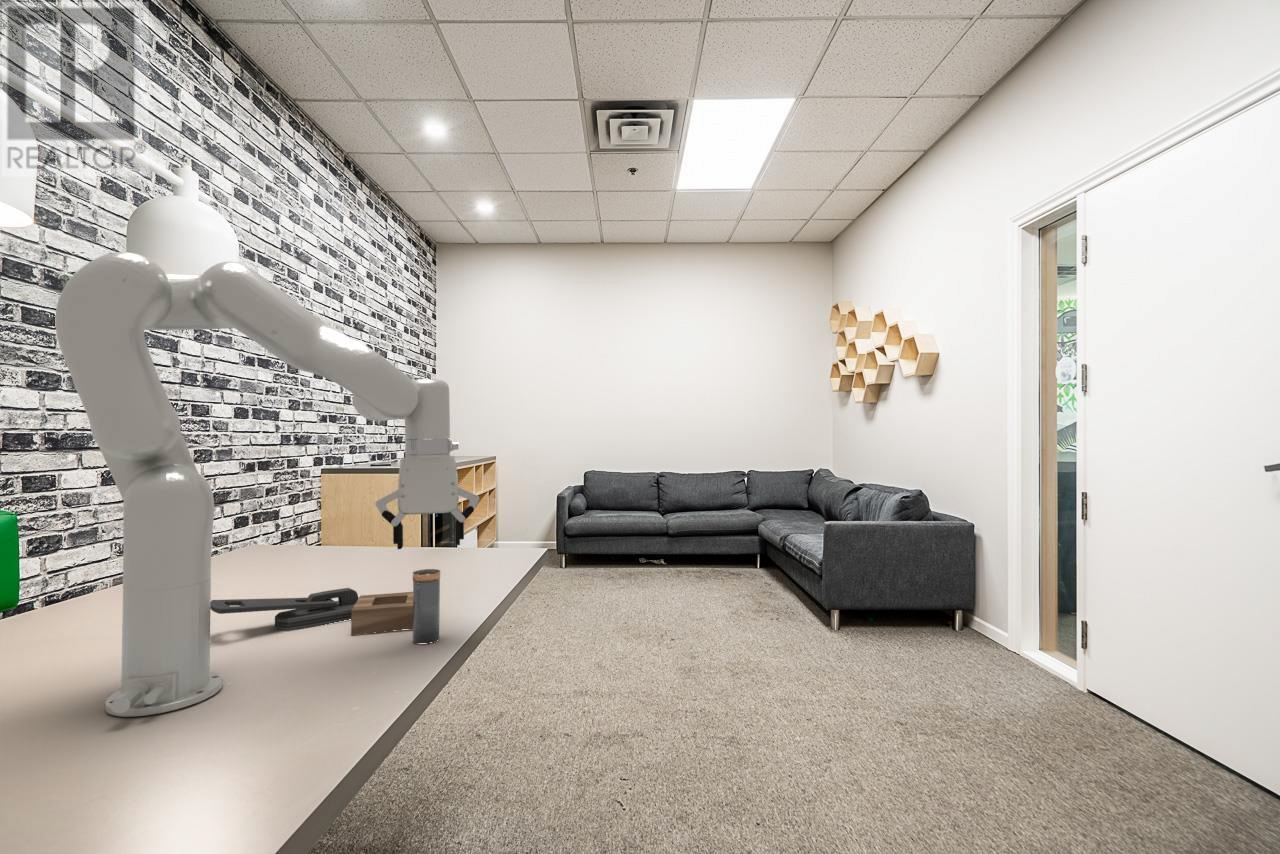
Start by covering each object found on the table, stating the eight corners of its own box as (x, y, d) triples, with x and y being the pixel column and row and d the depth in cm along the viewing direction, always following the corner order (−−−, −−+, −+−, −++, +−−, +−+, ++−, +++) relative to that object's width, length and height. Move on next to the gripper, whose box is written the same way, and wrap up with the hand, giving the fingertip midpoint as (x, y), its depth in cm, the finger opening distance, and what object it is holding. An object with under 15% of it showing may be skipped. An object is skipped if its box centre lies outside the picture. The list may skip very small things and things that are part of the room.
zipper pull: (205, 599, 108) (350, 577, 126) (205, 636, 108) (350, 608, 126) (215, 609, 102) (366, 584, 120) (214, 648, 102) (366, 617, 120)
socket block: (421, 629, 112) (422, 604, 112) (351, 635, 108) (351, 610, 108) (424, 613, 122) (424, 590, 122) (359, 618, 119) (360, 595, 119)
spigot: (439, 643, 104) (440, 573, 104) (411, 646, 102) (411, 575, 103) (440, 635, 108) (440, 568, 109) (412, 637, 107) (413, 570, 107)
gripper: (477, 447, 112) (479, 539, 112) (377, 450, 107) (378, 545, 107) (479, 448, 105) (480, 546, 105) (372, 451, 100) (373, 553, 100)
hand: (429, 545), depth 106 cm, fingers open, 9 cm apart
